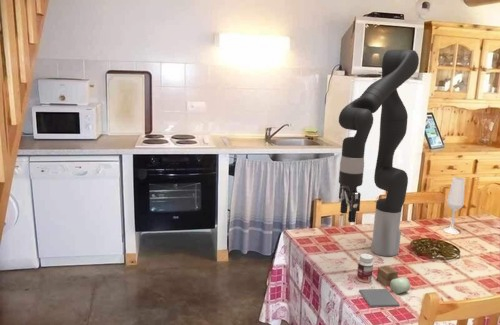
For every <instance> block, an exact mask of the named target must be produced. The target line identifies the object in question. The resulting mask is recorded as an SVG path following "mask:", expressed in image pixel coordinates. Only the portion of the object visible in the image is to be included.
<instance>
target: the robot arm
mask: <svg viewBox="0 0 500 325" xmlns="http://www.w3.org/2000/svg"><path fill="white" fill-rule="evenodd" d="M419 59H420V58H419V54H418V53H417V51H416V50H414V49H409V48H408V49H388V50H386V51H385V53H384V54H383V58H382V61H381V78H380V79H378V80H376V81H374V82H373V83H371V84H370V85H369V86H368V87H367V88H365V90H364V91H363V93H361V95H360V96H359V97H358V98H356V99H354V100H353V101H351V102H349V103H348V104H346V105H345V106H344V108H342V110H341V111H340V112H339V115H338V123H339V126H341V128H343V129H345V130H350V131H356V132H355V135H354V136H347V137H345V138H343V140H342V143H341V144H342V149H341V156H340V160H339V161H340V162H339V174H338V183H339V192H338V198H339V199H340V200H339V201H340V210H339V212H340V213H341V214H347V215H348V216H347V221H348V222H349V223H355V222H356V217H357V216H356V215H357V212H360V209H361V196H362V195H361V192H358V189H357V188H358V187H361V186H362V185H363V183H364V182H363V181H364V170H365V151H366V143H367V141H368V137H369V134H370V132H371V130H372V127H373V124H374V115H373V114H375V113H376V112H377V111H379V108H380V107H381V112H380V120H379V140H378V150H377V157H376V163H375V169H374V176H373V178H374V179H373V180H374V181H373V182H374V184H375V186H376V188H378V189H380V190H383V191H385V192H386V196H385V197H386V198H379V199H378V200H376V203H375V210H374V212H375V214H374V221H373V222H374V223H373V229H372V230H373V231H372V240H371V247H370V249H371V252H372V253H374V254H375V255H378V256H382V257H394V256H396V255H399V252H400V251H399V250H400V246H401V245H400V244H401V242H400V241H401V235H402V231H401V229H400V225H401V217H402V216H401V215H402V209H403V206H404V203H405V200H406V195H407V190H408V184H409V178H408V174H407V172H406V170H403V169H401V168H398V167H394V166H393V162H394V155H395V153H396V152H395V151H396V150H397V148H398V147H399V145H400V144H401V142H403V139H404V138H405V136H406V134H407V128H408V117H409V116H408V112H407V109H406V106H405V104H404V102H403V101H402V99H401V97H400V95H399V92H398V88H400V87H401V86H402V85H403V84H404V83H406V81H407V80H409V79H410V78H411V77H412V76H413V75H414V74H415V73H416V72H417V70H418V68H419V64H420V63H419V62H420V60H419Z"/></svg>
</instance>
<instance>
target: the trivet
mask: <svg viewBox="0 0 500 325" xmlns="http://www.w3.org/2000/svg"><path fill="white" fill-rule="evenodd" d="M358 292H359V293H360V295H361V296H362V297H363V299H364V301H365V302H366V301H367V302H366V304H367V305H368V304H369V305H368V306H369V308H379V307H380V308H381V307H382V308H385V307H400V303H399V301H397V299H396V298H395V297H394V296H393V294H391V292H390V291H389V290H388V288H370V289H369V288H368V289H364V288H363V289H361V288H360V289H359V291H358Z"/></svg>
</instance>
